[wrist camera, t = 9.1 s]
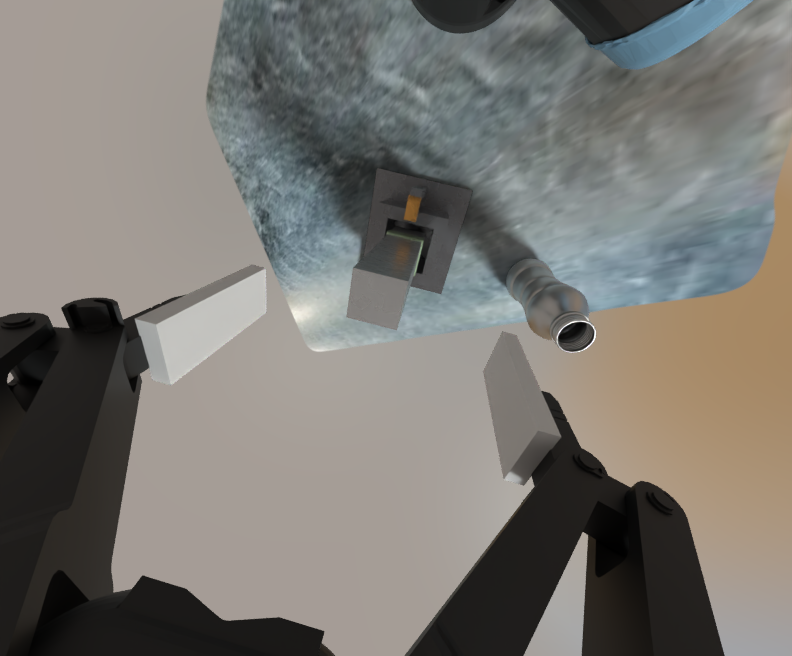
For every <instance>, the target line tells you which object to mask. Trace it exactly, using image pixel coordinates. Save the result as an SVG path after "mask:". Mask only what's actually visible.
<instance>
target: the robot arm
mask: <svg viewBox="0 0 792 656" xmlns="http://www.w3.org/2000/svg"><path fill="white" fill-rule="evenodd" d="M412 1H413V3H414V5H415V6H416V8H417V9H418V11H419V12H420V13H421V14H422V16H423V17H424V18H425V19H426V20H427V21H429V22H430V23H431V24H432V25H434V26H435V27H437V28H439V29H441V30H444V31H447V32H451V33H469V32H473V31H476V30H479V29H482V28H484V27H486V26H488V25H489V24H491V23H493V22H494V21H495V20H497V19H498V18H499V17H501V16H502V15H503V14H504V13H505V12H506V11H507V10H508V9H509V8H510V7H511V6H512V5H513V3H514V2H515V1H516V0H412ZM550 1H551V2H552V3H553V4H554V5H555V6H556V7H557V8H558V9H559V10H560V11H561V12H562V13H563V14H564V15H565V16H566V17H567V18H568V19H569V20H570V21H571V22H572V23H573V24H574V25H575V26H576V27H577V28H578V29H579V30H580V31H581V32H582V33H583V34H584V35H585V40H586V43H587V44H588V45H589V46H590V47H593V48H594V49H596V50H600V51H601V52H603V53H604V54H605V55H606V56H607V57H608V58H609V59H611V60H612V61H613V62H614V63H615V64H616V65H618V66H619V67H621V68H627V69H641V68H645V67H648V66H651V65H654V64H657V63H659V62H661V61H663V60H665V59H667V58H669V57H671V56H673V55H675V54H677V53H678V52H680V51H682V50H683V49H685V48H687V47H688V46H690V45H692V44H693V43H695V42H696V41H698V40H699V39H701V38H702V37H704V36H705V35H707V34H708V33H710V32H711V31H712V30H714V29H715V28H717V27H718V26H720V25H721V24H722V23H724V22H725V21H727V20H728V19H729V18H731V17H732V16H733V15H735V14H736V13H737V12H739V11H740V10H741V9H743V8H744V7H745V6H746V5H748V4H749V3H750V2H752V1H753V0H550ZM62 311H63V314H64V316H65V318H66V320H67V323H68V325H69V327H70V328H59V327H58V328H57V327H53V326H52V324H51V321H50V319H49V317H48V316H46V315H44V314H40V313H17V314H10V315H7V316H4V317H0V656H335V655H334V654H333V653H332V652H331V651H330V650H329V649H328V648H327V647H326V646H324V645H323V644H322V639H323V635H324V631H322V630H318V629H315V628H312V627H309V626H306V625H302V624H299V623H296V622H293V621H289V620H286V619H283V618H279V617H278V618H263V619H248V620H234V621H226V620H222V619H221V618H219V617H218V616H217V615H216V614H214V613H213V612H212V611H211V610H210V609H209V608H207V606H205V605H204V604H203V603H202V602H201V601H200V600H198V599H197V598H196V597H195V596H194V595H193V594H192V593H190V592H189V591H188V590H187V589H185V588H182V587H178V586H175V585H172V584H169V583H165V582H162V581H159V580H155V579H152V578H149V577H146V576H142V577H141V578H140V579H139V581H138V582H137V583H136V585H135V586H134V587H133V588H132V589H130V590H125V591H120V592H115V593H113V581H112V573H111V563H112V555H113V549H114V544H115V538H116V532H117V525H118V519H119V514H120V508H121V502H122V495H123V490H124V484H125V478H126V472H127V466H128V460H129V455H130V449H131V443H132V437H133V431H134V425H135V419H136V413H137V407H138V401H139V395H140V389H141V383H142V380H141V376H140V373H142V372H143V371H145V370H147V369H148V368H149V370H150V374H151V377H152V380H154V381H157V382H161V383H165V384H168V385H172V384H173V383H175V382H176V381H177V380H179V379H180V378H181V377H183V376H184V375H185V374H186V373H188V372H189V371H190V370H191V369H193V368H194V367H196V366H197V365H198V364H200V363H201V362H202V361H204V360H205V359H206V358H207V357H209V356H210V355H211V354H212V353H214V352H215V351H217V350H218V349H219V348H221V347H222V346H223V345H224V344H226V343H227V342H228V341H230V340H231V339H232V338H234V337H235V336H236V335H238V334H239V333H240V332H241V331H243V330H244V329H245V328H247V327H248V326H249V325H251V324H252V323H253V322H255V321H256V320H257V319H258V318H260V317H261V316H262V315H264V314H265V313H266V268H263V267H259V266H256V265H250V266H249V267H246V268H244V269H242V270H239V271H237V272H235V273H233V274H231V275H229V276H227V277H224V278H222V279H220V280H218V281H216V282H213V283H211V284H209V285H207V286H205V287H203V288H200V289H198V290H196V291H194V292H192V293H189V294H187V295H183V296H178V297H174V298H171V299H169V300H167V301H164V302H162V303H161V304H158V305H155V306H154V307H152V308H149V309H146V310H144V311H142V312H140V313H138V314H135V315H133V316H131V317H128V318H126V319H124V320H123V319H122V315H121V313H120V309H119V306H118V303H117V302H116V301H114V300H113V299H107V298H86V299H81V300H77V301H73V302H70V303H68V304H66V305H64V306H63V307H62ZM10 372H11V374H12V375H13V377H14V379H13V380H12V381H11V382H9V383H7V377H8V374H9V373H10ZM483 373H484V377H485V383H486V389H487V394H488V399H489V405H490V410H491V415H492V420H493V426H494V431H495V436H496V441H497V446H498V452H499V457H500V462H501V467H502V473H503V478H504V480H507V481H510V482H513V483H517V484H521V485H525V483H526V482H527V481H528V480H529V478H530V477H531V476H532V479H533V482H534V486H535V487H534V488H533V489H532V490H531V492H530V493H529V494H528V496H527V497H526V498H525V499H524V500H523V502H522V503H521V505H520V506H519V507H518V509H517V510H516V511H515V513H514V514H513V515H512V516H511V518H510V519H509V521H508V522H507V523H506V524H505V526H504V527H503V528H502V530H501V531H500V532H499V533H498V535H497V536H496V537H495V539H494V540H493V541H492V543H491V544H490V545H489V546H488V548H487V549H486V550H485V552H484V553H483V554H482V556H481V557H480V558H479V560H478V561H477V562H476V563H475V565H474V566H473V567H472V569H471V570H470V571H469V573H468V574H467V575H466V576H465V578H464V579H463V580H462V582H461V583H460V584H459V586H458V587H457V588H456V589H455V591H454V592H453V593H452V595H451V596H450V597H449V599H448V600H447V601H446V603H445V604H444V605H443V606H442V608H441V609H440V610H439V612H438V613H437V614H436V615H435V617H434V618H433V619H432V621H431V622H430V623H429V625H428V626H427V627H426V629H425V630H424V631H423V632H422V634H421V635H420V636H419V638H418V639H417V640H416V642H415V643H414V644H413V645H412V647H411V648H410V649H409V651H408V652H407V653H406V655H405V656H523V655H524V653H525V651H526V649H527V647H528V645H529V643H530V641H531V638H532V637H533V634H534V632H535V630H536V628H537V626H538V624H539V622H540V620H541V618H542V616H543V614H544V611H545V609H546V607H547V605H548V603H549V601H550V599H551V597H552V595H553V593H554V591H555V589H556V586H557V584H558V582H559V580H560V578H561V576H562V574H563V572H564V570H565V567H566V565H567V563H568V561H569V559H570V557H571V555H572V553H573V551H574V549H575V547H576V545H577V542H578V540H579V538H580V536H581V534H582V532H584V533H586V534H588V551H587V569H586V589H585V606H584V624H583V642H582V656H724V652H723V648H722V645H721V641H720V637H719V634H718V630H717V626H716V623H715V619H714V615H713V611H712V608H711V604H710V601H709V597H708V593H707V590H706V586H705V583H704V578H703V574H702V571H701V567H700V564H699V560H698V556H697V552H696V549H695V546H694V541H693V537H692V534H691V530H690V527H689V523H688V519H687V517H686V515H685V512H684V511H683V509H682V508H681V507H680V505H679V504H678V503H677V502H676V501H675V500H674V499H673V498H672V497H671V496H670V495H669V494H668V493H666V492H665V491H663V490H662V489H661V488H659V487H658V486H655V485H653V484H651V483H649V482H644V481H640V482H637V483H636V484H635V485H634V486H632V487H628V486H627V485H625V484H623V483H621V482H619V481H617V480H615V479H613V478H611V477H610V476H608V474H607V472H606V470H605V468H604V466H603V465H602V464H601V462H600V461H599V460H598V459H597V458H596V457H594V456H593V455H592V454H591V453H589V452H587V451H586V450H584V449H582V448H581V447H580V445H579V443H578V441H577V439H576V437H575V435H574V433H573V431H572V429H571V427H570V425H569V423H568V422H567V419H566V417H565V415H564V414H563V411H562V409H561V407H560V405H559V403H558V401H556V399H555V398H554V397H553V396H552V395H551V394H550V393H547V392H544V391H541V390H540V387H539V385H538V383H537V381H536V378H535V376H534V374H533V372H532V369H531V367H530V365H529V363H528V360H527V358H526V356H525V354H524V351H523V349H522V347H521V344H520V342H519V340H518V338H517V336H516V335H514V334H510V333H506V332H502V333H501V335H500V338H499V339H498V342H497V344H496V346H495V348H494V350H493V352H492V354H491V356H490V358H489V360H488V362H487V365H486V367H485V369H484V371H483ZM320 646H321V647H320Z"/></svg>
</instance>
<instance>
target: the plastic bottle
mask: <svg viewBox="0 0 792 656" xmlns="http://www.w3.org/2000/svg"><path fill="white" fill-rule="evenodd" d="M506 285H507V290H508V292H509V294H510V295H511V296H512V297H513V298H514V299H515V300H516V301H518V302H519V303H520V304H521V305H522V307H523V309H524V311H525V315H526V319H527V322H528V324H529V327H530V328H531V330H532V331H533V332H534V333H535V334H537V335H538V336H540V337H542V338H544V339H547V340H553V342H555V343H556V344H557V346H558V347H559V348H560V349H561V350H563V351H565V352H569V353H576V352H580V351H583V350H585V349H586V348H588V347H589V346H590V345H591V344H592V343H593V342H594V340H595V338H596V330H595V327H594V326H593V325H592V323H591V322H590V320H589V319H588V317H589V306H588V303H587V300H586V298H585V296H584V295H583V294H582V293H581V292H580V291H578V290H577V289H575V288H573V287H571V286H569V285H566V284H564V283H562V282H560V281H559V280H557V279H556V278H555V277H554V275H553V273H552V271H551V270H550V268H549V266H548V265H547V264H546V263H544V262H543V261H540V260H537V259H524V260H521V261H519V262H517V263H516V264H515V265H514V266H513V267H512V268H511V269H510V270H509V272H508V274H507V278H506Z"/></svg>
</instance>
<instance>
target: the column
mask: <svg viewBox="0 0 792 656" xmlns="http://www.w3.org/2000/svg"><path fill="white" fill-rule="evenodd" d="M424 235H425V233H422V232H418V231H414V230H410V229H406V228H401V227H397V226H395V227H394V228H393V229H392V230H389V231H387V235H386V236H385V237H384V238H383V239H382V240H381V241H380V242H379V243H378V244H377V245H376V246H375V247H374V248H373V249H372V250H371V251H370V252H369V253H368V254H367V255H366V256H365V257H364V258H363V259H362V260H361V261H360V262H359V263H358V264H356V265H355V266H354V267H353V273H352V280H351V288H350V295H349V303H348V310H347V317H348V318H352V319H355V320H359V321H363V322H367V323H371V324H375V325H379V326H383V327H387V328H390V329H394V330H397V328H398V324H399V321H400V318H401V315H402V312H403V308H404V305H405V302H406V299H407V295H408V292H409V289H410V286H411V283H412V279H413V276H415V274H416V270H417V266H418V262H419V258H420V254H421V250H422V246H423V242H424Z"/></svg>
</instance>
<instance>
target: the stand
mask: <svg viewBox="0 0 792 656" xmlns="http://www.w3.org/2000/svg"><path fill="white" fill-rule="evenodd" d="M472 192H473V191H472V190H468V189H463V188H459V187H455V186H451V185H447V184H442V183H438V182H434V181H430V180H426V179H421V178H417V177H413V176H409V175H405V174H400V173H396V172H392V171H388V170H384V169H379V168H377V171H376V178H375V185H374V191H373V198H372V205H371V211H370V218H369V225H368V231H367V238H366V244H365V251H364V257H365V256H366V255H367V254H368V253H369V252H370V251H371V250H372V249H373V248H374V247H375V246H376V245H377V244H378V243H379V242H380V241H381V240H382V239H383V238H384V237H385V236H386V235H387V231H389V230H392V229H393V228H394V227H395V226H397V227H401V228H406V229H410V230H414V231H418V232H422V233H425V235H424V242H423V246H422V250H421V254H420V258H419V262H418V266H417V270H416V274H415V276H413V279H412V283H411V287H415V288H419V289H423V290H427V291H431V292H435V293H439V294H441V293H442V289H443V286H444V283H445V280H446V276H447V273H448V270H449V267H450V263H451V260H452V257H453V254H454V250H455V247H456V244H457V241H458V237H459V234H460V231H461V228H462V224H463V221H464V218H465V215H466V211H467V208H468V205H469V202H470V198H471V195H472Z"/></svg>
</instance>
